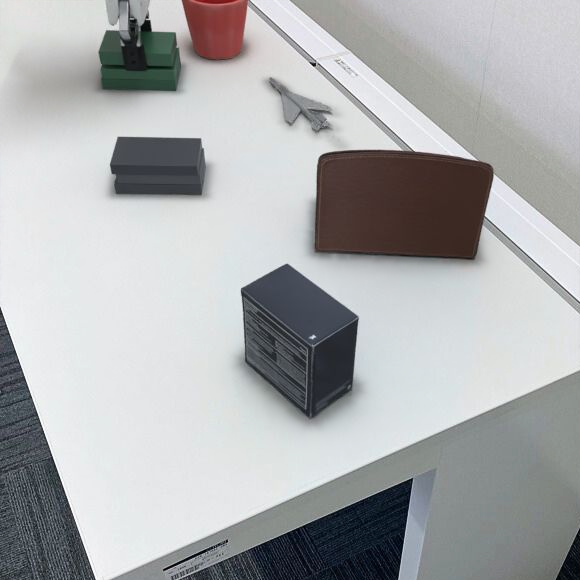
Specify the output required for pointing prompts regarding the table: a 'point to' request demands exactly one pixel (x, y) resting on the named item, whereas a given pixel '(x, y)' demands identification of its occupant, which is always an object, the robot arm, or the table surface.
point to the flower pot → (216, 26)
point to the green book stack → (142, 77)
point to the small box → (299, 338)
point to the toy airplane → (301, 107)
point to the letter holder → (400, 203)
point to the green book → (155, 44)
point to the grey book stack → (158, 165)
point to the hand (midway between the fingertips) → (139, 56)
